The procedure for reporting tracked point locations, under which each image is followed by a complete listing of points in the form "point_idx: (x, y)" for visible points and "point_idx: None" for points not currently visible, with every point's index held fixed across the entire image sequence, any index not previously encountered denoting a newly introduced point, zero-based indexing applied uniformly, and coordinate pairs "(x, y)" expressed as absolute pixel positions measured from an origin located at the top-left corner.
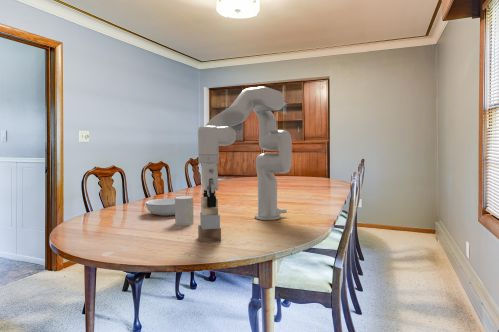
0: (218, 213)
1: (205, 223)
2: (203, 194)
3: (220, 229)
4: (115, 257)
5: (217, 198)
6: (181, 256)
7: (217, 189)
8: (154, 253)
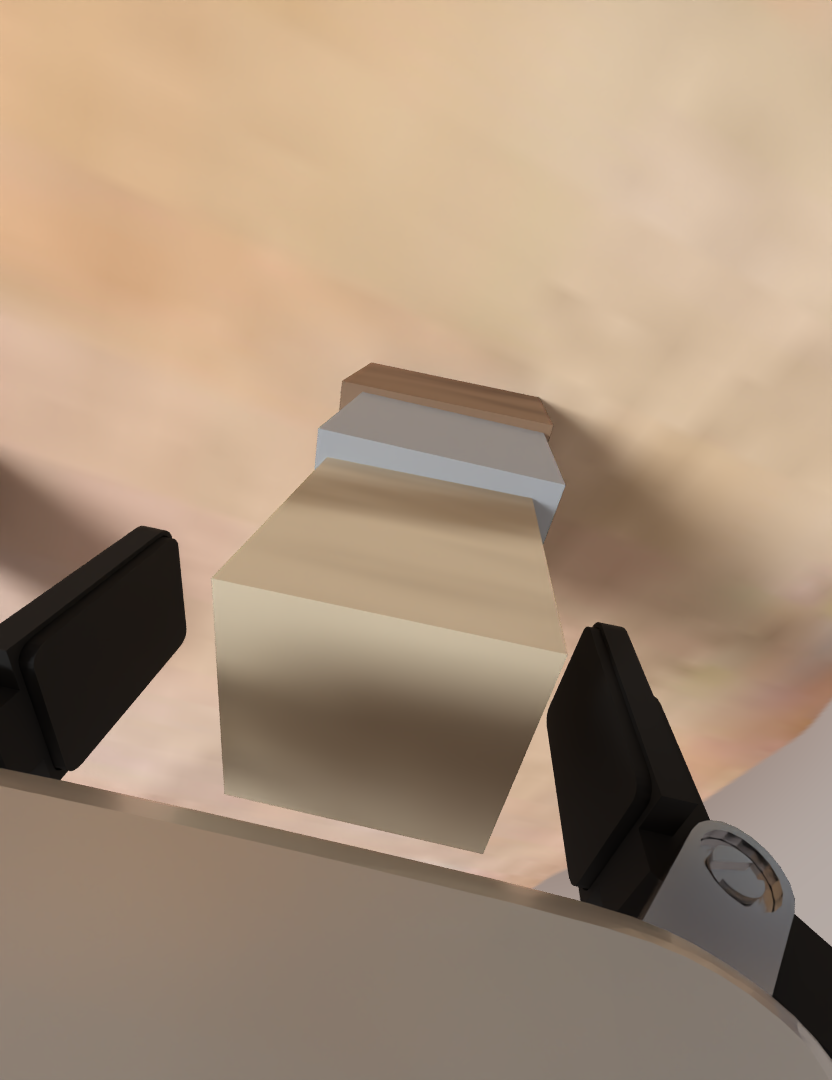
0: (458, 462)
1: None
2: (84, 753)
3: (549, 427)
4: (499, 865)
5: (542, 654)
6: (674, 704)
7: (785, 1013)
8: (538, 771)
